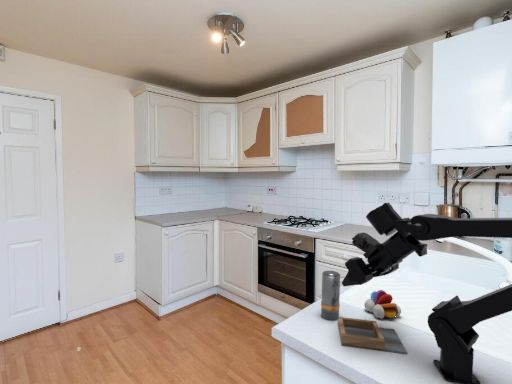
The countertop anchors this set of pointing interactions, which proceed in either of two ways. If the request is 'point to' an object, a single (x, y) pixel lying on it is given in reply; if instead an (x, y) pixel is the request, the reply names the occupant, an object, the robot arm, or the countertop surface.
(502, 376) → the countertop surface
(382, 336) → the picture frame
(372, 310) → the multicolored petal flower
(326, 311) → the grey metal cylinder
